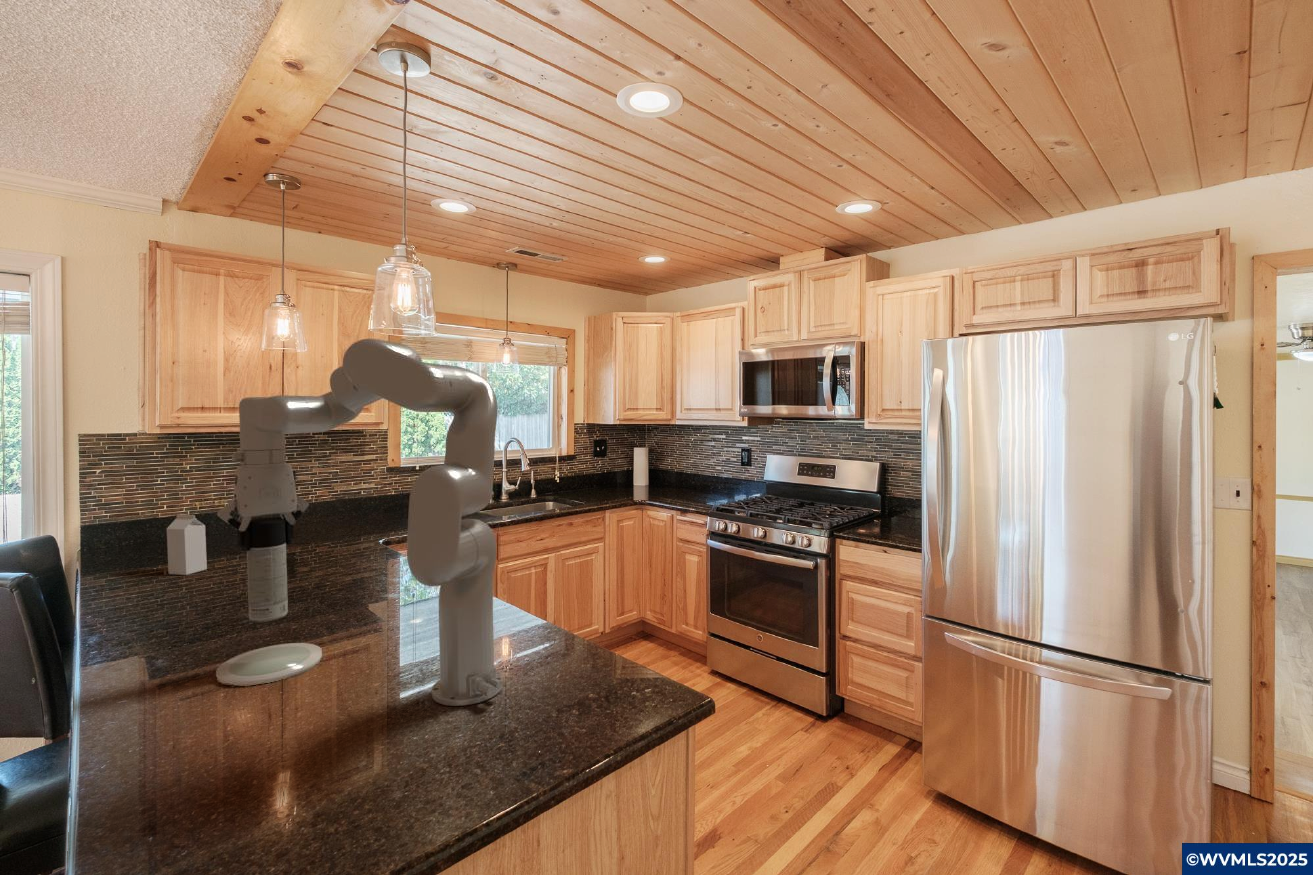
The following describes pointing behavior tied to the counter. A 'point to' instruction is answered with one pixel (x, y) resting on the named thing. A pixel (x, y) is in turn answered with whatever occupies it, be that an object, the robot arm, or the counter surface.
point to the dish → (269, 664)
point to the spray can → (267, 569)
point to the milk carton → (186, 545)
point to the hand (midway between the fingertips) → (266, 545)
